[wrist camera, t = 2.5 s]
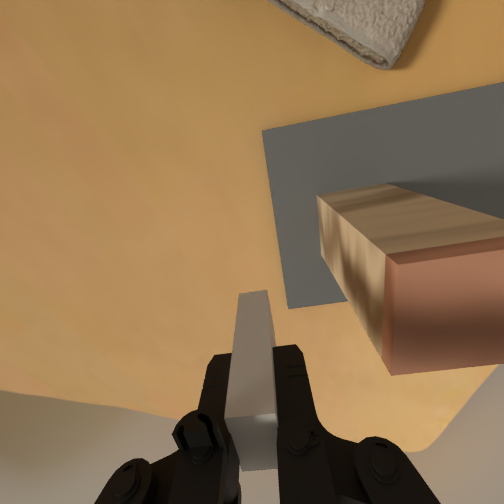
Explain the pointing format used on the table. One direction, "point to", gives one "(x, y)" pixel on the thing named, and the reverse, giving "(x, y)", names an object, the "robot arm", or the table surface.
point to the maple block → (418, 275)
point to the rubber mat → (381, 170)
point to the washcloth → (360, 25)
